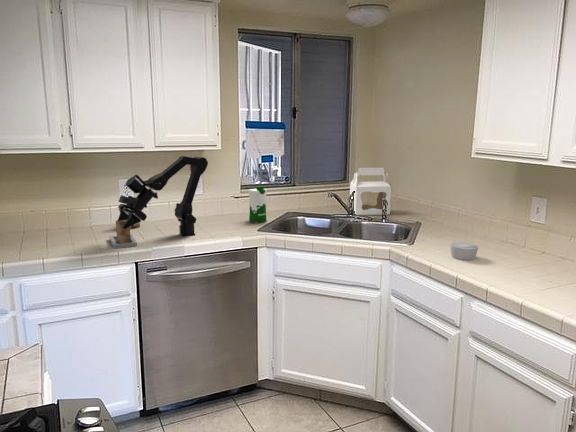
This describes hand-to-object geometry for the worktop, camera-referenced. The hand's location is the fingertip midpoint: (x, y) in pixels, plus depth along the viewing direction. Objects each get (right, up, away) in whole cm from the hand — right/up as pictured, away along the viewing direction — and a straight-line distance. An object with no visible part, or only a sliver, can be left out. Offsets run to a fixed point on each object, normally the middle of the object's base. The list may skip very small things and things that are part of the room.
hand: (120, 226), depth 218 cm
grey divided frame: (-1, -8, +6) cm, 10 cm away
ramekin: (+149, -13, -13) cm, 150 cm away
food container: (-5, -1, +39) cm, 39 cm away
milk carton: (+58, +2, +57) cm, 81 cm away
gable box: (+125, +7, +85) cm, 151 cm away
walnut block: (+1, -8, +3) cm, 9 cm away
